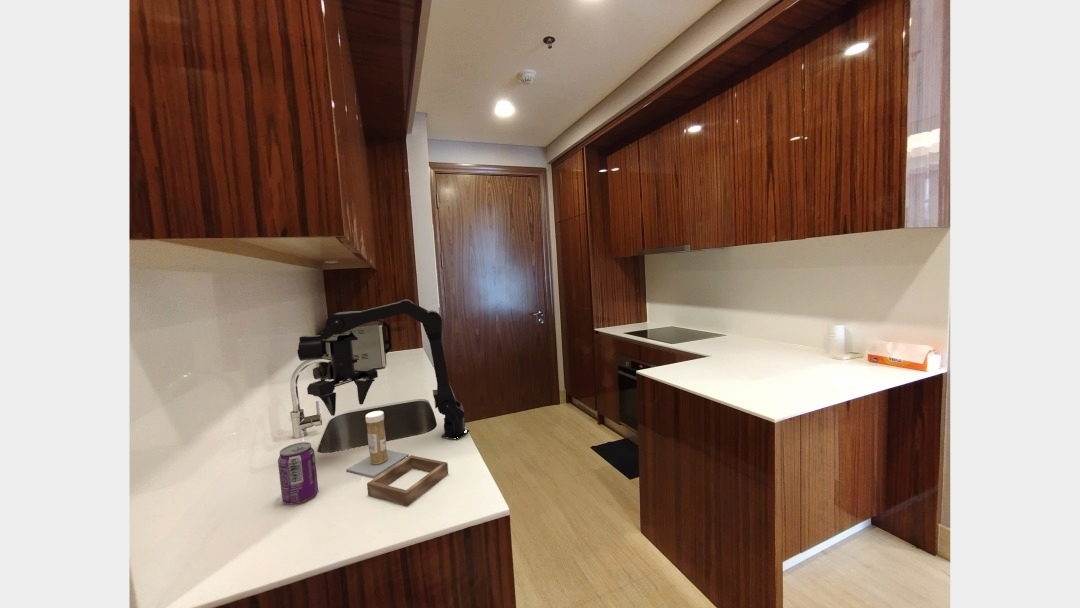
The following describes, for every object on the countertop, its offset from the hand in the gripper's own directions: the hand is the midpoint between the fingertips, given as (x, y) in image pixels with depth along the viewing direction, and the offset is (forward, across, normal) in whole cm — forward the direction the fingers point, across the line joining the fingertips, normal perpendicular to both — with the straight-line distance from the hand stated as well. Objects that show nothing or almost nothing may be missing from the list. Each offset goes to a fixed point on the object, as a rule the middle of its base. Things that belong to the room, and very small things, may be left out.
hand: (347, 409), depth 107 cm
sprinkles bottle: (+13, +2, +13) cm, 18 cm away
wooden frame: (+13, +7, +29) cm, 33 cm away
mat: (+13, +2, +13) cm, 18 cm away
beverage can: (+13, +20, +8) cm, 25 cm away
